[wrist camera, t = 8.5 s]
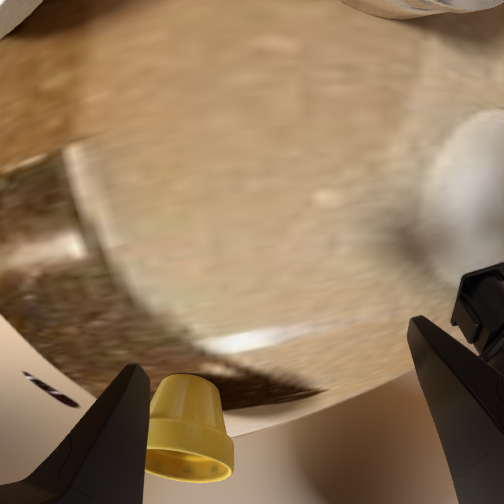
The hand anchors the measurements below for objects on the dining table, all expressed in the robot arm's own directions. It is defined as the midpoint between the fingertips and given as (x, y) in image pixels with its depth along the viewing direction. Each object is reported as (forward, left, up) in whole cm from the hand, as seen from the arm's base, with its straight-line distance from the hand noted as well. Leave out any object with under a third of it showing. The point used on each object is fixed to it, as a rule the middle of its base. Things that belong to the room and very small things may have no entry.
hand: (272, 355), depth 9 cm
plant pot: (+12, +20, -13) cm, 27 cm away
